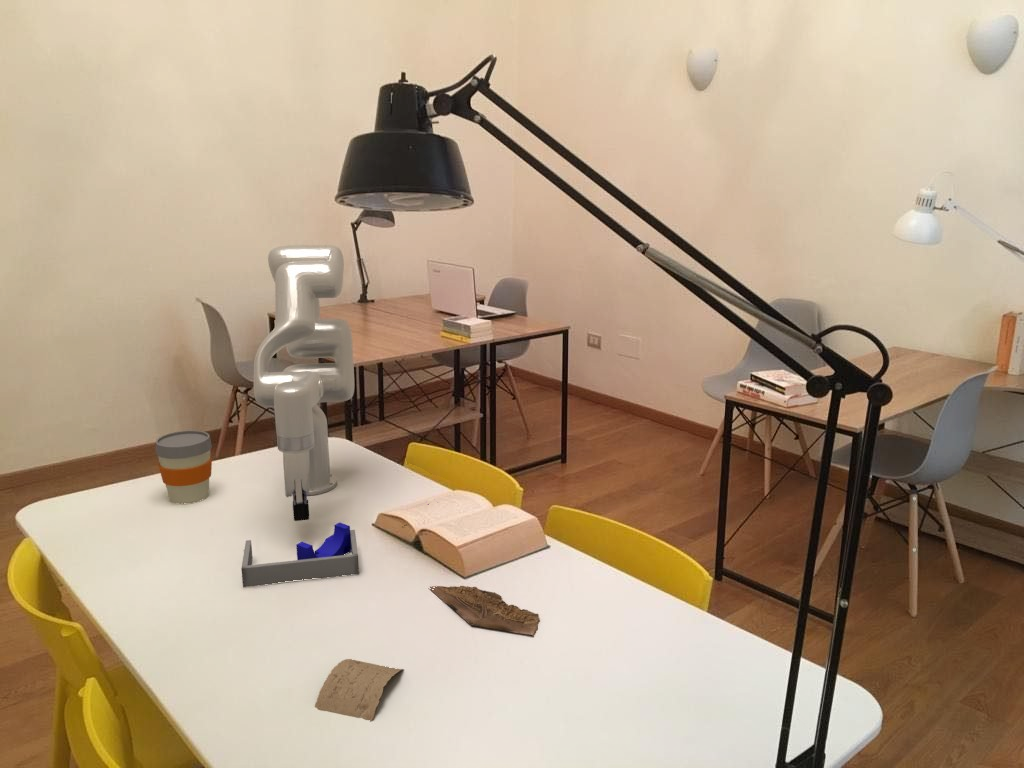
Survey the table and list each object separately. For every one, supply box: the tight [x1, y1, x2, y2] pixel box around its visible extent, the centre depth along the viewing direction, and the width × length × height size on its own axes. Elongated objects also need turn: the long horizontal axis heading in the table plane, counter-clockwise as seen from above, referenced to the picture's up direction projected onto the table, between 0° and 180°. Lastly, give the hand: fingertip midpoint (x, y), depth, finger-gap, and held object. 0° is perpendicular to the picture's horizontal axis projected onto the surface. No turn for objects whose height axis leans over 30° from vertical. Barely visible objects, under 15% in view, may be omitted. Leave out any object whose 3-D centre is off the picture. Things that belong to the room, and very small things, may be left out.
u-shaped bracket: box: [240, 529, 360, 588], centre depth 160 cm, size 12×22×4 cm, turn 104°
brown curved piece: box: [314, 658, 404, 722], centre depth 123 cm, size 14×10×3 cm
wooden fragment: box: [429, 585, 540, 638], centre depth 145 cm, size 26×11×1 cm, turn 48°
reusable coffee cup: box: [155, 430, 213, 505], centre depth 191 cm, size 12×13×15 cm
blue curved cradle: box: [296, 522, 351, 560], centre depth 162 cm, size 12×4×6 cm, turn 147°
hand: (301, 518), depth 171 cm, fingers closed
